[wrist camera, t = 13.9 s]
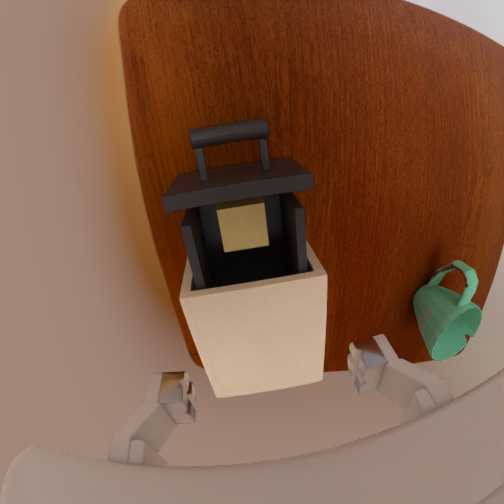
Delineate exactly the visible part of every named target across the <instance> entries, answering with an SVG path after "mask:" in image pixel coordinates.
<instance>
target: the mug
mask: <svg viewBox="0 0 504 504" xmlns="http://www.w3.org/2000/svg"><path fill="white" fill-rule="evenodd" d="M453 270H457V271H459V272H460V273H462V274H463V275H464V279H465V282H466V283H465V286H464V290H463V293H462V294H461V295H459V294H457V293H455V292H453V291H451V290H449V289H446V288H444V287H441V286H438V284H439V282H440V281H441V280H442V278H443V277H444V275H445V274H446V273H447V272H450V271H453ZM477 285H478V278H477V275H476V272H475V270H474V269H472V268H471V267H469V266H468V265H466V264H465V263H463V262H462V261H459V260H457V261H454V262H452V263H450V264H448V265H446V266H443V267H441V268H439V269H437V271H436V272H435V274H434V275H433V277H432V278H431V280H430V281H429V282H428V284H426V285H424V286H423V287H421V288H420V289H419V290H418V291H417V293H416V294H415V296H414V299H413V306H414V310H415V315H416V318H417V321H418V325H419V328H420V331H421V334H422V336H423V339H424V342H425V344H426V346H427V349H428V352H429V354H430V356H431V357H432V359H434V360H435V361H442V360H445V359H448V358H450V357H452V356H453V355H455V354H456V353H458V352H459V351H460V350H461V349H463V348H464V347H465V346H466V344H467V340H466V338H465V334H468V335H469V336H471V337H473V336H474V335H475V333H476V331H477V330H478V328H479V326H480V322H481V320H482V311H481V309H480V308H479V307H478V306H477V305H476V304H474V303H473V302H471V301H470V300H471V298H472V296H473V295H474V293H475V291H476V288H477Z"/></svg>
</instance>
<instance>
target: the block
mask: <svg viewBox="0 0 504 504" xmlns="http://www.w3.org/2000/svg"><path fill="white" fill-rule="evenodd" d="M216 211H217V216H218V221H219V227H220V232H221V237H222V242H223V247H224V252H231V251H237V250H243V249H249V248H255V247H262V246H268V245H269V239H268V230H267V222H266V213H265V205H264V201H263V199H262V197H261V196H259V197H253V198H246V199H240V200H234V201H227V202H221V203H217V210H216Z"/></svg>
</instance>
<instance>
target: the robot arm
mask: <svg viewBox="0 0 504 504" xmlns="http://www.w3.org/2000/svg"><path fill="white" fill-rule="evenodd" d="M349 350H350V352H351V353H350V354H349V355H348V368H349V371H350V373H351V375H352V376H354V377H355V378H356V379H355V385H356V387H357V390H358V392H359V394H362V393H365V392H369V391H372V390H376V389H377V390H378V391H379V392H380V393H382V394H383V395H385V396H386V397H387V398H389V399H390V400H391V401H393V402H394V403H396V404H397V405H398V406H400V407H401V408H403V409H404V410H405V412H404V414H403V415H402V417H401V419H400V421H399V423H400V425H398V426H396V427H393V428H390V429H388V430H385V431H382V432H380V433H377V434H374V435H371V436H368V437H365V438H362V439H359V440H356V441H353V442H350V443H346V444H342V445H339V446H335V447H332V448H328V449H324V450H320V451H315V452H311V453H306V454H302V455H297V456H291V457H286V458H280V459H274V460H267V461H260V462H252V463H244V464H233V465H218V466H192V467H188V466H185V467H184V466H182V467H181V466H179V467H178V466H167V462H166V461H165V460H164V459H163V458H161V457H160V456H159V455H158V452H159V451H160V449H161V448H162V446H163V445H164V443H165V442H166V441H167V439H168V438H169V436H170V435H171V433H172V432H173V430H174V428H175V427H176V426H177V425H176V424H187V423H195V409H194V407H193V405H194V403H195V402H196V394H195V389H194V385H193V383H192V382H191V381H189V375H188V373H187V372H186V371H185V372H184V371H183V372H164V373H153V374H152V375H151V378H150V383H149V389H148V394H147V400H146V403H143V404H142V405H141V406H140V407H139V408H138V409H137V410H136V411H135V413H134V414H133V415H132V416H131V417H130V418H129V419H128V420H127V421H126V422H125V423H124V424H123V425H122V427H121V428H120V429H119V430H118V431H117V432H116V433H115V434H114V435H113V436H112V440H111V444H110V450H109V455H108V461H105V460H99V459H93V458H87V457H82V456H77V455H73V454H68V453H64V452H60V451H56V450H52V449H48V448H45V447H41V446H38V445H32V446H30V447H28V448H27V449H25V450H24V451H23V452H22V453H21V454H20V455H18V456H17V457H16V458H15V459H14V460H13V461H12V463H11V464H10V467H9V469H8V472H7V474H6V478H5V481H4V484H3V488H2V492H1V497H0V504H504V369H503V370H501V371H500V372H498V373H497V374H495V375H494V376H492V377H491V378H489V379H488V380H486V381H485V382H483V383H481V384H480V385H478V386H476V387H475V388H473V389H471V390H470V391H468V392H466V393H464V394H463V395H461V396H459V397H457V398H455V399H454V397H453V396H452V394H451V392H450V390H449V389H448V387H447V385H446V384H445V382H444V381H443V379H442V378H440V377H438V376H436V375H434V374H432V373H430V372H428V371H426V370H424V369H422V368H420V367H418V366H416V365H414V364H412V363H410V362H408V361H406V360H404V359H399V358H398V357H397V355H396V353H395V352H394V350H393V348H392V347H391V345H390V344H389V342H388V340H387V339H386V337H385V336H384V335H383V334H381V335H377V336H374V337H369V338H366V339H362V340H359V341H355V342H352V343H351V344H350V346H349Z"/></svg>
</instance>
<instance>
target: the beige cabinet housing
mask: <svg viewBox="0 0 504 504" xmlns="http://www.w3.org/2000/svg"><path fill="white" fill-rule="evenodd" d="M306 247H307V272H306V273H301V274H295V275H289V276H283V277H278V278H272V279H266V280H260V281H254V282H248V283H241V284H235V285H229V286H222V287H216V288H209V289H203V290H197V288H196V285H195V281H194V278H193V274H192V270H191V267H190V263H189V259H188V257H187V261H186V266H185V271H184V276H183V281H182V286H181V292H180V297H179V300H180V303H181V306H182V309H183V312H184V315H185V317H186V320H187V323H188V326H189V329H190V331H191V334H192V337H193V340H194V342H195V345H196V348H197V350H198V353H199V355H200V358H201V361H202V363H203V366H204V368H205V371H206V373H207V376H208V378H209V380H210V383H211V385H212V388H213V390H214V392H215V395H216V397H217V398H223V397H232V396H239V395H247V394H254V393H260V392H267V391H273V390H278V389H284V388H289V387H294V386H299V385H304V384H308V383H313V382H317V381H322V379H323V366H324V352H325V335H326V313H327V273H326V271H325V270H324V268H323V267H322V265H321V263H320V262H319V260H318V258H317V257H316V255H315V254H314V252H313V250H312V249H311V247H310V245H309V244H308V242H307V241H306Z"/></svg>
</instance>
